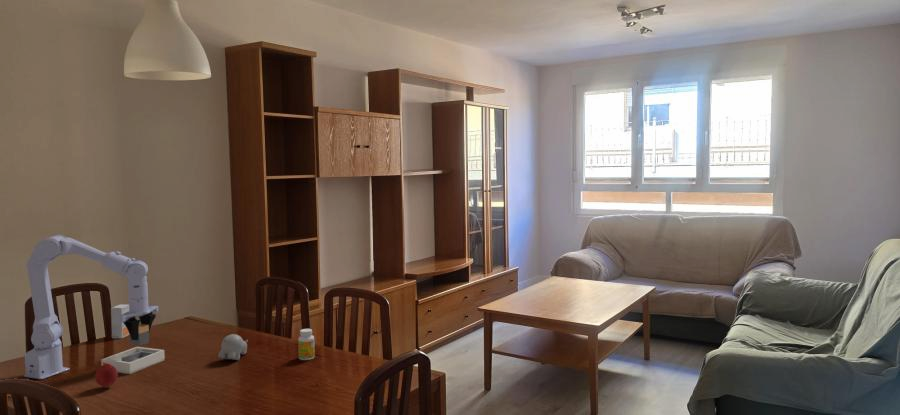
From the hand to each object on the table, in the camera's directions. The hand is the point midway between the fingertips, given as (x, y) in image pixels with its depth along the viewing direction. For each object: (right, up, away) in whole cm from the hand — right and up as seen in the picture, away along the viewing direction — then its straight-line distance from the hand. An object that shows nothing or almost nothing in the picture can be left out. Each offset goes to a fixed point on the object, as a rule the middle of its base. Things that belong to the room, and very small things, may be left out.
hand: (140, 337), depth 194 cm
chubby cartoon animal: (+30, -9, +6) cm, 32 cm away
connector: (0, -2, 0) cm, 2 cm away
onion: (+1, -11, -21) cm, 23 cm away
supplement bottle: (+54, -8, +6) cm, 55 cm away
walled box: (-2, -9, -1) cm, 9 cm away
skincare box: (-24, -7, +32) cm, 41 cm away
